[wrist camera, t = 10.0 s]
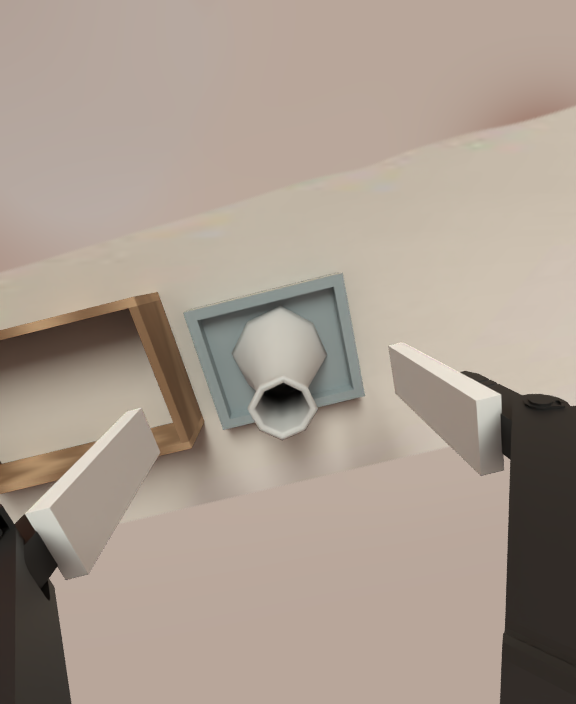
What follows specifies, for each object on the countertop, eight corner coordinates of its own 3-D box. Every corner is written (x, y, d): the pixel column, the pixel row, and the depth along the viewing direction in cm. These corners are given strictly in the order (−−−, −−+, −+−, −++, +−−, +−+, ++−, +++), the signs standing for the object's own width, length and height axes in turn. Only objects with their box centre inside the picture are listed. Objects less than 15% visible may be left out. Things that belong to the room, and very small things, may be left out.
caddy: (-2, 471, 26) (-49, 505, 23) (-76, 350, 23) (-145, 366, 19) (204, 421, 26) (191, 448, 22) (157, 292, 23) (133, 296, 19)
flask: (342, 353, 24) (387, 409, 14) (278, 410, 25) (281, 498, 15) (280, 288, 22) (284, 302, 13) (215, 352, 24) (174, 409, 14)
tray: (226, 419, 26) (223, 429, 24) (189, 309, 23) (183, 312, 22) (358, 387, 26) (365, 395, 24) (337, 272, 23) (342, 272, 21)
